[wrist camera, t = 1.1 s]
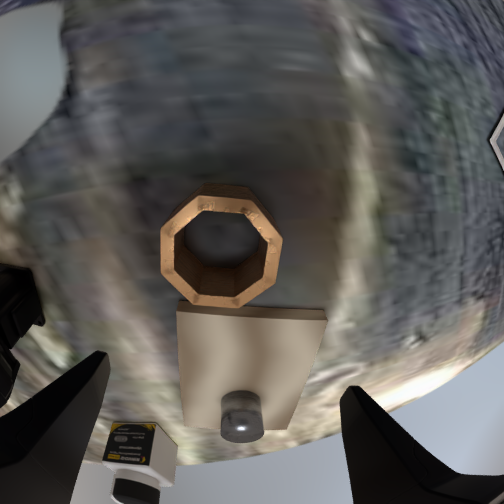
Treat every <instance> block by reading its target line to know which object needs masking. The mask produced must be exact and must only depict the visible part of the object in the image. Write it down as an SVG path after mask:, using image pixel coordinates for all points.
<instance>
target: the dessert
mask: <svg viewBox="0 0 504 504" xmlns="http://www.w3.org/2000/svg"><path fill="white" fill-rule="evenodd" d="M503 127H504V114H503V116H502V118H501V120H500V122H499V124H498V126H497V128H496V130H495V131H494V133H493V135H492V137H491V138H490V143H491V145H492V147H493V149H494V151H495V153H496V155H497V157H498V159H499V161H500V163H501V166H502V168H503V170H504V158H503V156H502V154H501V152H500V150H499V148H498V146H497V144H496V140H497V138H498V136H499V134H500V132H501V130H502V128H503Z"/></svg>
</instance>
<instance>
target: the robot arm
mask: <svg viewBox="0 0 504 504" xmlns="http://www.w3.org/2000/svg"><path fill="white" fill-rule="evenodd" d="M33 324H34V325H38V326H44V324H45V320H44V317H43V313H42V310H41V307H40V303H39V300H38V296H37V292H36V288H35V284H34V280H33V276H32V272H31V271H30V270H29V269H28V268H23V267H17V266H12V265H6V264H1V263H0V408H1V407H2V406H4V405H5V404H6V403H7V401H8V399H9V398H10V395H11V393H12V389H13V386H14V383H15V379H16V376H17V373H18V370H19V367H20V363H19V361H18V360H17V359H16V358H15V357H14V356H13V354H12V353H11V351H10V350H9V349H12V348H13V346H14V345H15V344H16V342H17V341H18V340H19V338H20V337H21V338H22V337H23V336H24V335H25V334H26V332H27V331H28V330H29V329H30V327H31V326H32V325H33ZM110 370H111V369H110V362H109V356H108V354H107V353H106V352H103V351H99V350H97V351H95V352H94V353H92V354H91V355H89V356H88V357H87V358H85V359H84V360H82V361H81V362H80V363H78V364H77V365H76V366H74V367H73V368H71V369H70V370H69V371H67V372H66V373H64V374H63V375H62V376H60V377H59V378H57V379H56V380H55V381H53V382H52V383H51V384H49V385H48V386H46V387H45V388H44V389H42V390H41V391H39V392H38V393H37V394H35V395H34V396H33V397H32V398H30V399H28V400H27V401H26V402H24V403H23V404H21V405H20V406H18V407H17V408H15V409H14V410H12V411H10V412H9V413H7V414H5V415H3V416H2V417H0V504H70V501H71V497H72V493H73V490H74V486H75V483H76V480H77V476H78V473H79V470H80V467H81V463H82V460H83V457H84V454H85V451H86V448H87V445H88V442H89V439H90V437H91V434H92V431H93V428H94V425H95V423H96V420H97V417H98V415H99V412H100V409H101V406H102V402H103V398H104V394H105V390H106V386H107V383H108V379H109V375H110ZM340 415H341V428H342V437H343V443H344V449H345V454H346V460H347V465H348V472H349V478H350V484H351V490H352V497H353V504H504V475H499V476H491V475H490V476H489V475H488V476H487V475H466V474H460V473H457V472H455V471H454V470H452V469H451V468H449V467H448V466H447V465H445V464H444V463H443V462H441V461H440V460H438V459H437V458H436V457H435V456H433V455H432V454H431V453H430V452H428V451H427V450H426V449H425V448H424V447H423V446H422V445H420V444H419V443H418V442H417V441H416V440H414V438H413V437H412V436H411V435H410V434H409V433H408V432H406V431H405V430H404V429H403V428H402V427H401V426H400V425H399V424H398V423H397V422H396V421H395V420H394V419H393V418H392V417H391V416H390V415H389V414H388V413H387V412H386V411H385V410H384V409H383V408H382V407H381V406H379V405H378V404H377V403H376V402H375V401H374V400H373V399H372V398H371V397H370V396H369V395H368V394H367V393H366V392H365V391H364V390H363V389H362V388H361V387H360V386H349V387H348V388H347V389H346V391H345V392H344V394H343V395H342V397H341V399H340Z"/></svg>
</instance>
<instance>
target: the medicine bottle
mask: <svg viewBox="0 0 504 504" xmlns="http://www.w3.org/2000/svg"><path fill="white" fill-rule="evenodd" d="M177 450H178V447H177V445H176V444H175V443H174V442H173V441H172V440H171V439H170V438H169V437H168V436H167V435H166V434H165V432H164V431H163V430H162V429H161V428H160V427H159V426H158V425H157V424H156V423H119V422H114V423H113V424H112V427H111V431H110V434H109V438H108V441H107V445H106V449H105V452H104V456H103V460H102V463H103V464H104V465H105V466H107V467H108V468H109V469H111V470H112V471H113V472H115V473H116V474H114V479H113V483H112V488H111V493H110V496H111V498H112V499H113V500H114V501H115V502H116V503H118V504H159V498H160V489H161V487H160V486H169V487H172V486H174V481H175V469H176V459H177Z"/></svg>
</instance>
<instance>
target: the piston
mask: <svg viewBox="0 0 504 504" xmlns="http://www.w3.org/2000/svg"><path fill="white" fill-rule="evenodd" d="M263 435H264V426H263V417H262V408H261V399H260V397H259V396H258V395H257V394H255V393H253V392H251V391H246V390H237V391H232V392H229V393H227V394H225V395H224V396H223V397H222V399H221V436H222V437H223V438H224V439H225V440H227V441H230V442H235V443H248V442H253V441H256V440H258V439H260V438H261V437H262V436H263Z"/></svg>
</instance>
